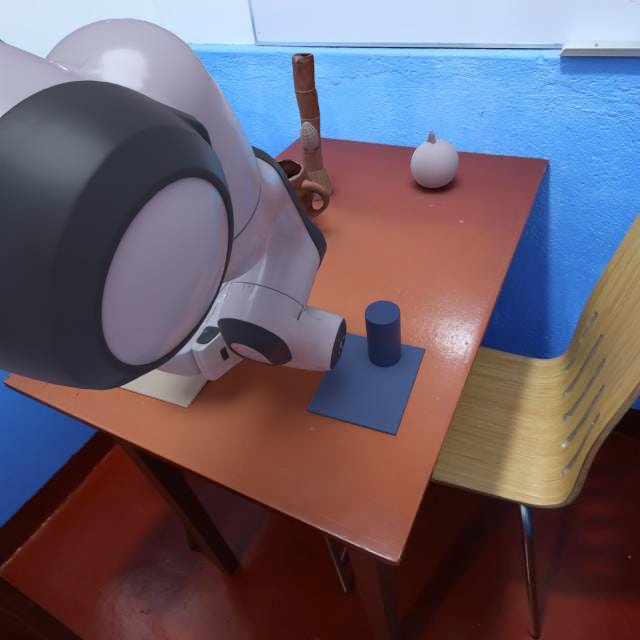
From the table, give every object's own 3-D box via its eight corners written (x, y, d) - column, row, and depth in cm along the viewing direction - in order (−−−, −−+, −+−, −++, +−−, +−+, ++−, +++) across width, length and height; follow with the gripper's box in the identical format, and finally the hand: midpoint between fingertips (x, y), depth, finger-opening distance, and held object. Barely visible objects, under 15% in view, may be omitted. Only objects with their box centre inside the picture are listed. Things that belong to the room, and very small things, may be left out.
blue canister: (395, 370, 70) (394, 327, 63) (364, 363, 71) (359, 320, 65) (405, 346, 73) (404, 303, 67) (374, 340, 75) (371, 297, 68)
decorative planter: (345, 219, 103) (339, 158, 93) (325, 251, 95) (315, 188, 86) (266, 211, 110) (252, 154, 101) (240, 240, 102) (223, 181, 93)
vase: (323, 204, 109) (302, 62, 89) (295, 200, 112) (270, 62, 92) (342, 182, 115) (327, 45, 95) (316, 179, 118) (296, 46, 98)
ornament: (402, 189, 109) (401, 138, 101) (427, 170, 114) (428, 120, 106) (441, 200, 103) (443, 147, 95) (465, 180, 108) (469, 128, 100)
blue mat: (395, 435, 62) (395, 434, 62) (306, 411, 67) (306, 409, 67) (425, 350, 72) (425, 348, 72) (346, 334, 77) (346, 332, 77)
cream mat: (187, 408, 70) (186, 407, 70) (116, 387, 75) (115, 385, 75) (251, 319, 83) (251, 317, 83) (187, 306, 88) (186, 304, 88)
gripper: (267, 263, 72) (194, 252, 77) (192, 359, 59) (110, 338, 64) (275, 294, 76) (205, 281, 81) (207, 390, 63) (129, 368, 68)
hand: (163, 307), depth 73 cm, fingers closed on pill bottle, 5 cm apart
